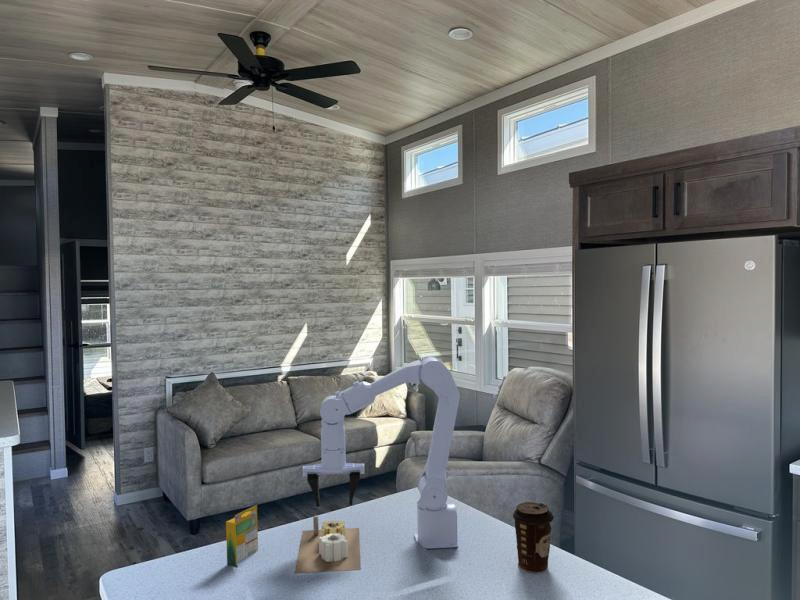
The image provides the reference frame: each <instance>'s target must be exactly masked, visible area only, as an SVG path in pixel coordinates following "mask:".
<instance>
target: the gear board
mask: <svg viewBox="0 0 800 600" xmlns="http://www.w3.org/2000/svg"><path fill="white" fill-rule="evenodd" d="M312 518H313V529H312V530H311V529H310V530H302V533H301V537H300V542H299V546H298V547H299V548H298V553H297V557H296V564H295V568H294V574H309V573H310V574H311V573H324V572H325V573H327V572H344V571H345V572H346V571H347V572H348V571H359V570H360V571H361V570H362V567H361V566H362V565H361V543H360V542H361V541H360V528H359V527H352V528H351V527H350V528H345V540H348V556H347V558H343V559H341V560H338V561H332V562H331V561H330V562H326V561H325V560H323V559H322V557H321V554H319V538H320V537H322V529H319V516H318V515H314V516H313V517H312ZM331 527H336V523H335V522H333V523H331ZM330 540H331V541H334V540H336V535H331V536H330Z"/></svg>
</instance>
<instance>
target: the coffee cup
mask: <svg viewBox="0 0 800 600" xmlns="http://www.w3.org/2000/svg"><path fill="white" fill-rule="evenodd" d="M512 518H513V520H514V530H515V539H516V550H517V559H518V562H517V567H518V568H519V569H521V570H522V571H524V572H527V573H531V574H538V573H544V572H545V571H547V570H548V568H549V557H550V555H549V554H550V552H551V551H550V548H551V538H552V536H551V535H552V526H551V523H552V522H553V520H554V515H553V513H552V511H550V509H549V507H548V505H547V504H544V503H540V502H536V501H535V502H533V501H531V502H530V501H525V502H521V503H519V504H517V506H516V509H515V510H514V511H513V513H512Z"/></svg>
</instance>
